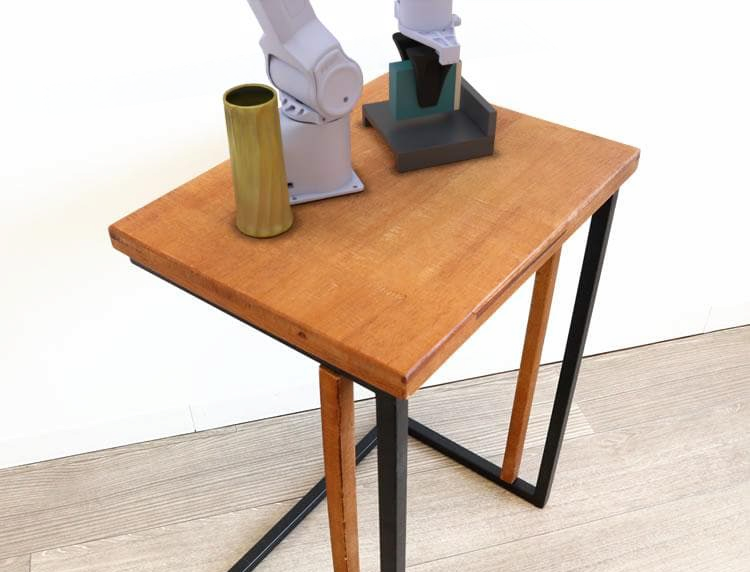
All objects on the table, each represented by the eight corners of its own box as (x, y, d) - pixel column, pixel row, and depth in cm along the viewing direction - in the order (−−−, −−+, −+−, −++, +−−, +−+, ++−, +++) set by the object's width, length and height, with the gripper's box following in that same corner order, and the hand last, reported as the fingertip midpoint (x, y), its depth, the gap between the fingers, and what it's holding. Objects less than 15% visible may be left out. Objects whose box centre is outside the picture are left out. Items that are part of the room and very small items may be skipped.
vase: (224, 228, 89) (204, 100, 79) (258, 201, 93) (242, 76, 83) (272, 244, 87) (257, 115, 77) (304, 215, 91) (294, 89, 81)
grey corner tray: (398, 173, 97) (399, 128, 93) (362, 123, 106) (361, 81, 102) (493, 154, 100) (497, 111, 96) (450, 107, 109) (452, 66, 105)
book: (459, 110, 100) (462, 60, 96) (396, 121, 98) (396, 71, 94) (450, 101, 102) (453, 52, 98) (388, 111, 100) (388, 62, 96)
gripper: (490, -3, 86) (480, 121, 95) (435, -46, 96) (431, 70, 105) (426, 7, 84) (422, 132, 94) (377, -38, 94) (378, 79, 104)
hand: (423, 100), depth 99 cm, fingers closed on book, 2 cm apart
